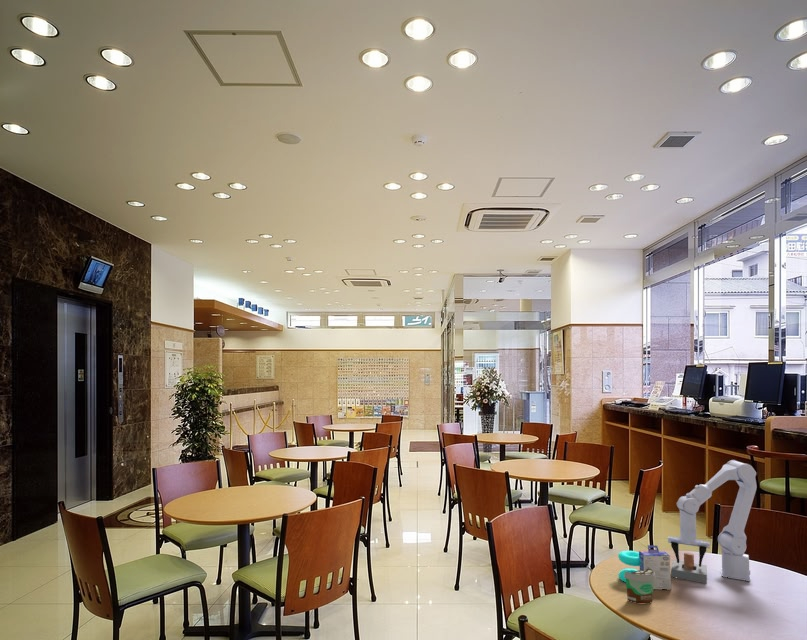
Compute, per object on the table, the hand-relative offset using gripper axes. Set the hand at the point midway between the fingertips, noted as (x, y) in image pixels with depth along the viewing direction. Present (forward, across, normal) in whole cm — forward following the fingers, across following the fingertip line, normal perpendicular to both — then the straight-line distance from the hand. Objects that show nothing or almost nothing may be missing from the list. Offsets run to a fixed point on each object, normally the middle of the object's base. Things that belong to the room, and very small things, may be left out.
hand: (689, 564), depth 222 cm
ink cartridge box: (+4, -11, -20) cm, 23 cm away
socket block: (+4, 0, 0) cm, 4 cm away
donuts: (+4, -19, -18) cm, 26 cm away
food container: (+4, -13, -36) cm, 39 cm away
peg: (+4, 0, 0) cm, 4 cm away
